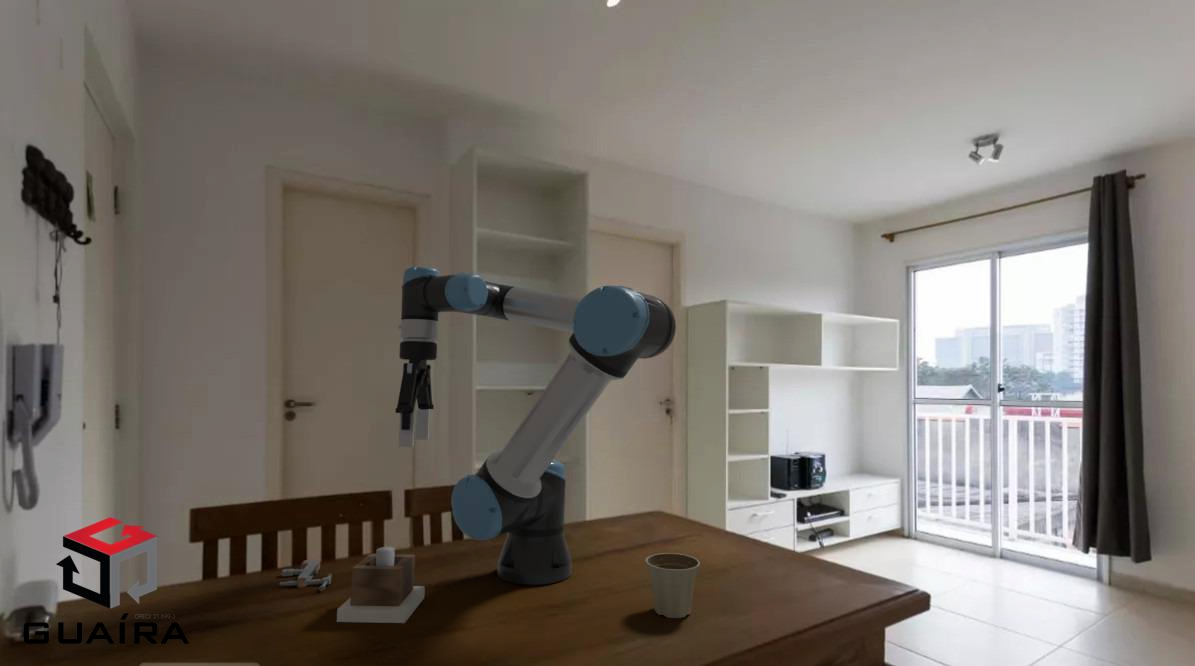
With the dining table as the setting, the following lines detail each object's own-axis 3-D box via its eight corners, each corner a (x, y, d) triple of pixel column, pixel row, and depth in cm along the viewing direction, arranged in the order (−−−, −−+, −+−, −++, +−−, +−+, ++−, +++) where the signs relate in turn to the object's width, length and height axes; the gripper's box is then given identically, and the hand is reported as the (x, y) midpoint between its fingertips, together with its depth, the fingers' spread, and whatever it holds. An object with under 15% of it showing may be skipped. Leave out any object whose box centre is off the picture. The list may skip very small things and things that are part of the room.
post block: (424, 597, 106) (426, 541, 106) (404, 623, 95) (407, 559, 95) (363, 596, 106) (366, 539, 106) (336, 621, 95) (339, 558, 95)
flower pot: (665, 627, 95) (665, 572, 96) (634, 606, 103) (635, 556, 104) (711, 617, 99) (711, 565, 100) (678, 598, 108) (678, 550, 108)
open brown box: (413, 589, 104) (415, 554, 105) (398, 606, 96) (400, 569, 97) (368, 588, 104) (370, 553, 105) (350, 605, 96) (352, 568, 97)
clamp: (288, 560, 120) (341, 557, 122) (287, 571, 119) (340, 568, 122) (265, 586, 105) (325, 582, 107) (265, 598, 105) (325, 595, 107)
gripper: (415, 344, 135) (411, 436, 134) (383, 336, 111) (377, 449, 109) (447, 344, 136) (444, 437, 134) (423, 337, 111) (418, 450, 109)
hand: (414, 443), depth 122 cm, fingers open, 13 cm apart
